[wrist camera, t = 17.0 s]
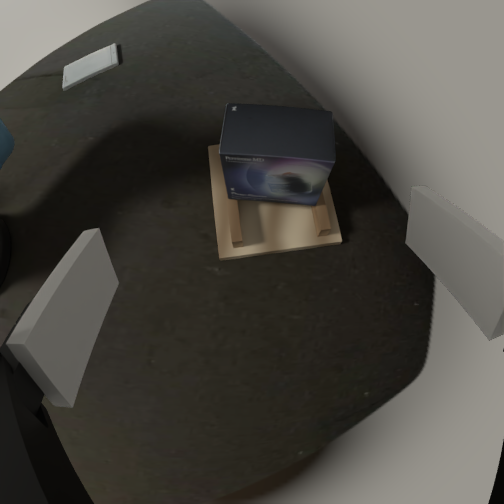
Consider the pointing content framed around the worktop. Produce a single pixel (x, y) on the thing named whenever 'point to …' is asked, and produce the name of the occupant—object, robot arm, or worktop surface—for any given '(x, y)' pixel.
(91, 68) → the hard drive
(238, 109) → the small box
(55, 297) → the robot arm
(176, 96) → the worktop surface
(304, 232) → the tray
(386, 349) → the worktop surface
